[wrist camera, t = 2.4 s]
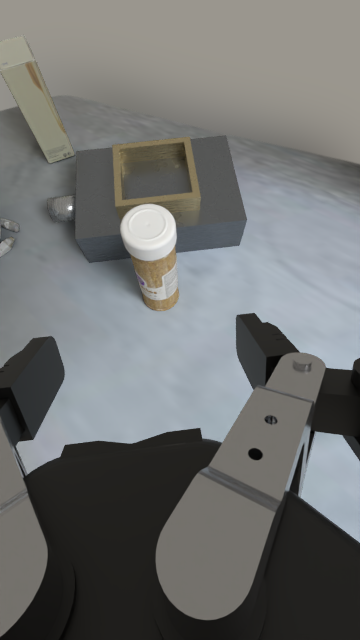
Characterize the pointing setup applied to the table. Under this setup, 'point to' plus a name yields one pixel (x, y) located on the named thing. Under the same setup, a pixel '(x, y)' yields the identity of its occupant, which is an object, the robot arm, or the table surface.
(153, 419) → the table surface
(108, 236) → the grey block with recess
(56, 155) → the skincare box
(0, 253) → the cable
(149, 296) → the sprinkles bottle
